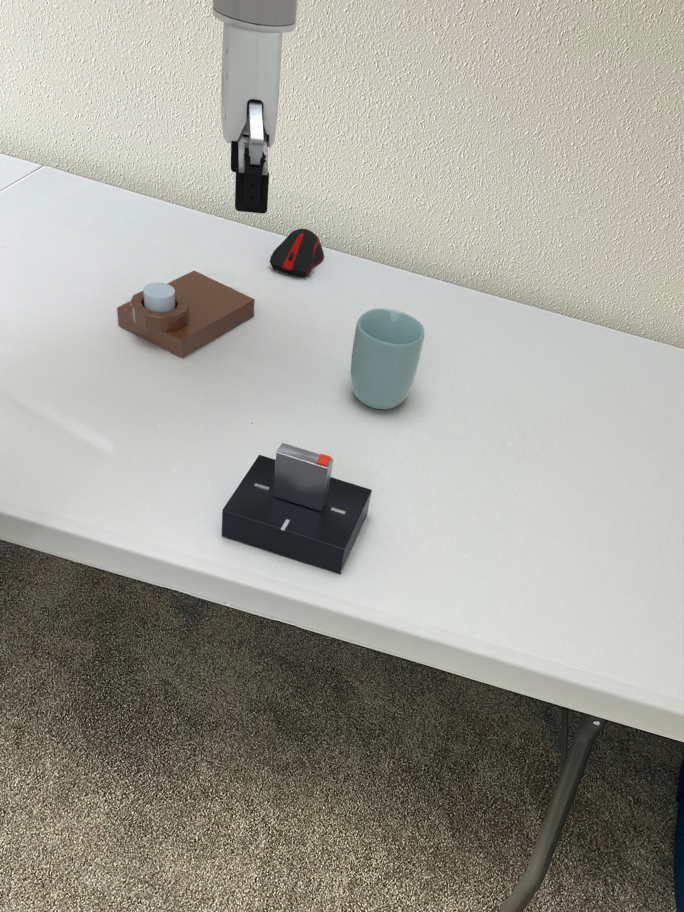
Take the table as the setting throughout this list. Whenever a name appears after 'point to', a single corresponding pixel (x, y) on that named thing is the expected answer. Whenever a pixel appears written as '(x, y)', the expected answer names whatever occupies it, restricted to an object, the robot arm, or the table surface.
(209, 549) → the table surface
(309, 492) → the tap knob
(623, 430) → the table surface
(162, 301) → the pale blue short cylinder
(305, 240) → the computer mouse
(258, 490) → the plate
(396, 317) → the cup
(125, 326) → the brown mounting plate
